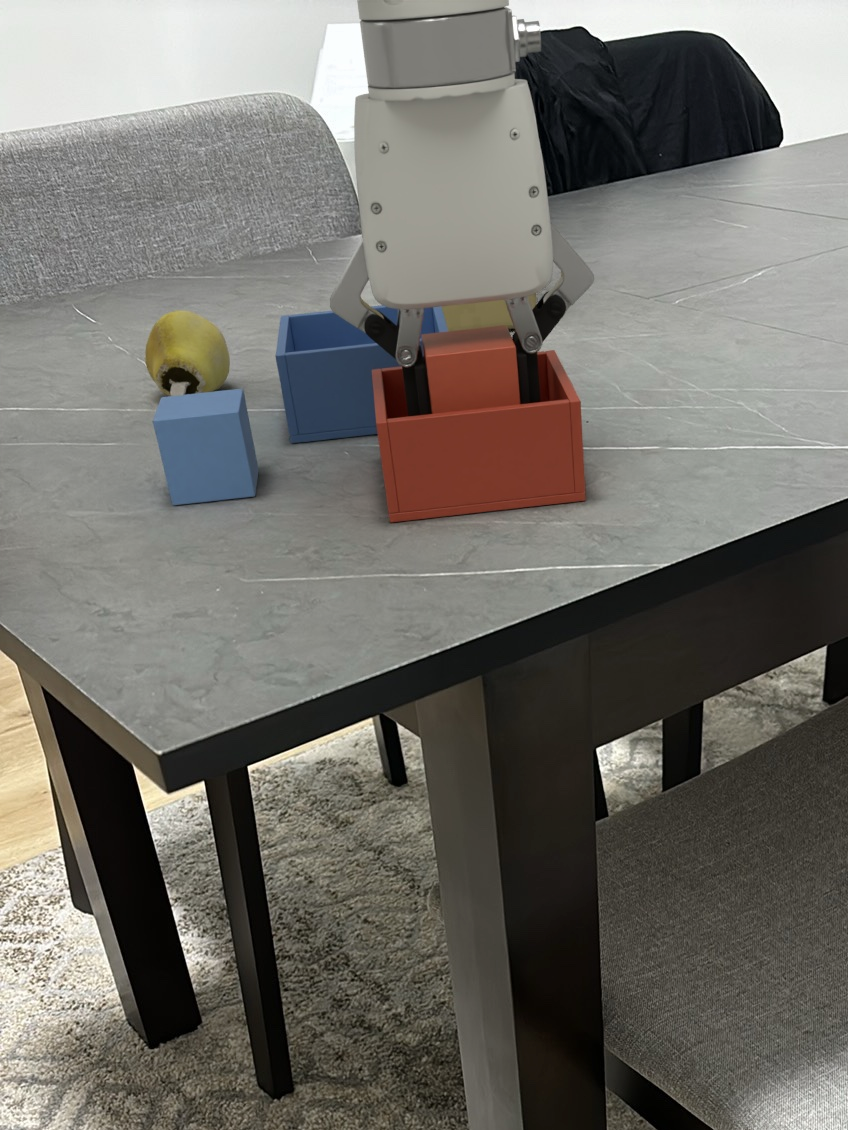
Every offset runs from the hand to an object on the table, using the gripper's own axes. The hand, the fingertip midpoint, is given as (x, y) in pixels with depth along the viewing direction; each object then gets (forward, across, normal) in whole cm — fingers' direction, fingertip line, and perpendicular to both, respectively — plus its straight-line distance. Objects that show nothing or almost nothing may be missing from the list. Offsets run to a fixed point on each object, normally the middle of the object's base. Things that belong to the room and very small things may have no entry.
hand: (475, 423), depth 81 cm
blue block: (+3, +16, -4) cm, 17 cm away
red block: (0, 0, 0) cm, 0 cm away
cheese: (+4, -3, -46) cm, 46 cm away
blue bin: (+3, +6, -17) cm, 18 cm away
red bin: (+3, 0, 0) cm, 3 cm away
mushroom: (+4, +19, -25) cm, 32 cm away
